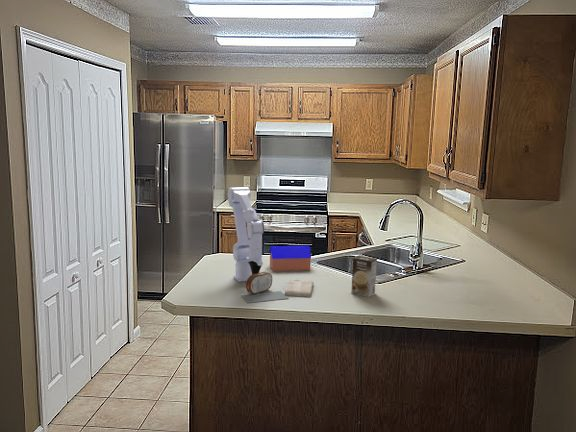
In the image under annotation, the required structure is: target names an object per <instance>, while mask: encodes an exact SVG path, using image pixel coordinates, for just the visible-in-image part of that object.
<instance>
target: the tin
mask: <svg viewBox="0 0 576 432" xmlns="http://www.w3.org/2000/svg"><path fill="white" fill-rule="evenodd" d="M272 285H273V275H272V274H271V273H270V272H267V271H262V272H261V271H259V273H256V274H252V275H251V276H249V278H248V279H247V281H245V289H246V292H248V294H257V293H264V292H268V291H269V289H270V288H271V287H272Z"/></svg>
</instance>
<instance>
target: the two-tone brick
mask: <svg viewBox="0 0 576 432" xmlns="http://www.w3.org/2000/svg"><path fill="white" fill-rule="evenodd" d="M311 259H312V253H311V249H310V245H282V246H281V245H277V246H276V245H274V246H270V249H269V266H270V269H271V270H272V271H273V272H282V271H284V272H286V271H288V272H290V271H289V270H292V271H311Z"/></svg>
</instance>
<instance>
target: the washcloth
mask: <svg viewBox="0 0 576 432" xmlns="http://www.w3.org/2000/svg"><path fill="white" fill-rule="evenodd" d="M313 287H314V281H312V280H301V279H288V281H287V282H286V285H285V288H284V295H286V296H287V297H289V296H290V297H294V296H296V297H307V298H309V297H312V292H313Z"/></svg>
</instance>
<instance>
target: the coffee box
mask: <svg viewBox="0 0 576 432" xmlns="http://www.w3.org/2000/svg"><path fill="white" fill-rule="evenodd" d="M377 265H378V258H374V257H371V256H370V257H369V256H366V255H361V254H360V255H357V256H355V257H353V258H352V272H351V273H352V274H351V275H352V276H351V291H350V292H351V294H354V295H357V296H358V295H359V296H363V297H367V298H368V297H369V298H370V297H372V296H373V295H375V294H376V285H377V284H376V282H377V281H376V280H377Z"/></svg>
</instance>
